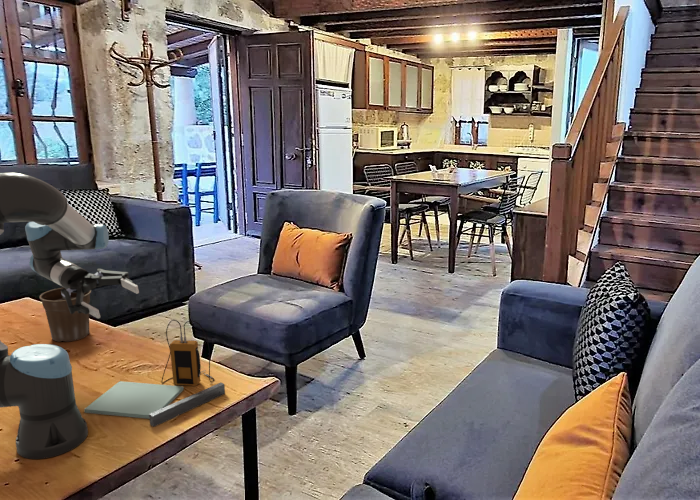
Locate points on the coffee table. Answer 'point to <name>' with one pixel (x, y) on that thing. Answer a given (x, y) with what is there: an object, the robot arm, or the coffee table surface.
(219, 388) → the guide rail
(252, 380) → the coffee table surface
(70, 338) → the plant pot
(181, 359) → the corded orange upright block
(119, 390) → the plate
